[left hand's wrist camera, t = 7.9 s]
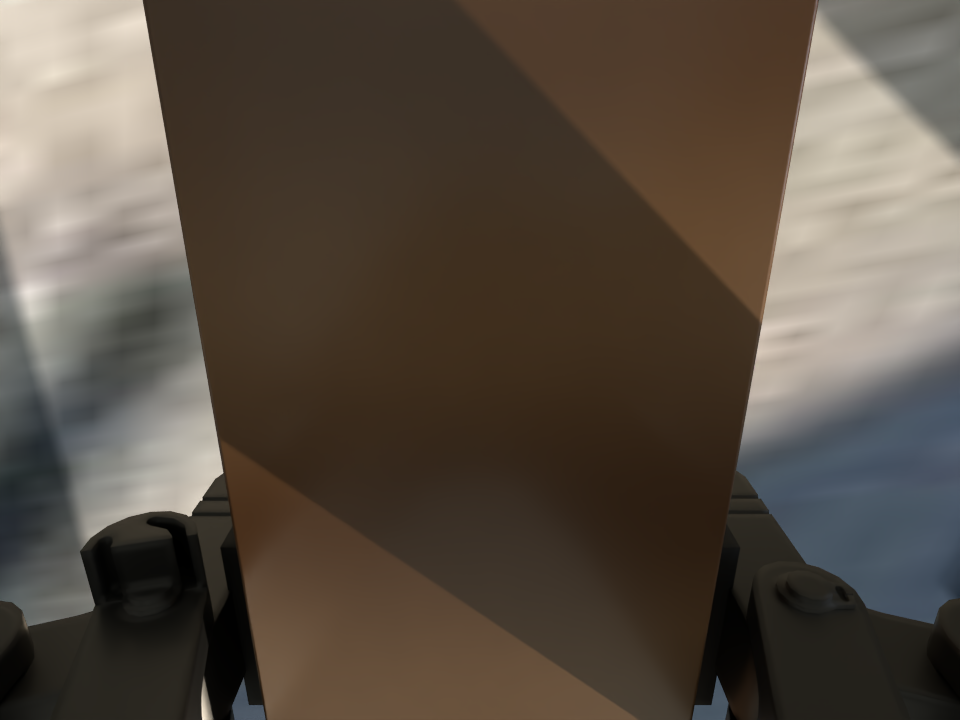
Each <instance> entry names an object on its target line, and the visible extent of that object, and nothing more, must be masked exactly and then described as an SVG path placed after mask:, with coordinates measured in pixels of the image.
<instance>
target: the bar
mask: <svg viewBox="0 0 960 720" xmlns="http://www.w3.org/2000/svg"><path fill="white" fill-rule="evenodd" d="M818 1H819V0H143V4H144V10H145V16H146V22H147V28H148V34H149V39H150V45H151V51H152V57H153V63H154V69H155V75H156V80H157V86H158V92H159V98H160V104H161V110H162V115H163V121H164V127H165V133H166V139H167V145H168V151H169V156H170V162H171V168H172V174H173V180H174V186H175V192H176V197H177V203H178V209H179V215H180V221H181V227H182V232H183V238H184V244H185V250H186V256H187V262H188V268H189V273H190V279H191V285H192V291H193V297H194V303H195V309H196V314H197V320H198V326H199V332H200V338H201V344H202V349H203V355H204V361H205V367H206V373H207V379H208V385H209V390H210V396H211V402H212V408H213V414H214V420H215V426H216V431H217V437H218V443H219V449H220V455H221V461H222V466H223V472H224V478H225V484H226V490H227V496H228V502H229V507H230V513H231V519H232V525H233V531H234V537H235V543H236V548H237V554H238V560H239V566H240V572H241V578H242V583H243V589H244V595H245V601H246V607H247V613H248V619H249V624H250V630H251V636H252V642H253V648H254V654H255V660H256V665H257V671H258V677H259V683H260V689H261V695H262V700H263V706H264V712H265V718H266V720H692V716H693V711H694V705H695V699H696V694H697V688H698V682H699V677H700V671H701V665H702V660H703V654H704V648H705V643H706V637H707V631H708V625H709V620H710V614H711V608H712V603H713V597H714V591H715V586H716V580H717V574H718V569H719V563H720V557H721V552H722V546H723V540H724V535H725V529H726V523H727V518H728V512H729V506H730V501H731V495H732V489H733V484H734V478H735V472H736V467H737V461H738V455H739V450H740V444H741V438H742V433H743V427H744V421H745V416H746V410H747V404H748V399H749V393H750V387H751V381H752V376H753V370H754V364H755V359H756V353H757V347H758V342H759V336H760V330H761V325H762V319H763V313H764V308H765V302H766V296H767V291H768V285H769V279H770V274H771V268H772V262H773V257H774V251H775V245H776V240H777V234H778V228H779V223H780V217H781V211H782V206H783V200H784V194H785V189H786V183H787V177H788V172H789V166H790V160H791V155H792V149H793V143H794V137H795V132H796V126H797V120H798V115H799V109H800V103H801V98H802V92H803V86H804V81H805V75H806V69H807V64H808V58H809V52H810V47H811V41H812V35H813V30H814V24H815V18H816V13H817V7H818Z"/></svg>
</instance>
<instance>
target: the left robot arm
mask: <svg viewBox="0 0 960 720" xmlns="http://www.w3.org/2000/svg"><path fill="white" fill-rule="evenodd" d="M80 553H81V557H82V560H83V564H84V567H85V571H86V574H87V578H88V581H89V585H90V588H91V592H92V596H93V599H94V603H95V607H94V610H93V611H92V612H88V613H85V614H82V615H78V616H74V617H69V618H65V619H60V620H56V621H51V622H47V623H43V624H38V625H34V626H29V627H27V624H26V621H25V618H24V615H23V612H22V610H21V609H19V608H18V607H17V606H16V605H15V604H13V603H11V602H5V601H0V720H234V714H233V709H232V704H233V702H234V699H235V697H236V695H237V692H238V690H239V687H240V685H241V682H242V680H243V677H244V680H245V686H246V691H247V697H248V702H249V705H263V700H262V695H261V689H260V683H259V677H258V671H257V665H256V660H255V654H254V648H253V642H252V636H251V630H250V624H249V619H248V613H247V607H246V601H245V595H244V589H243V583H242V578H241V572H240V566H239V560H238V554H237V548H236V543H235V537H234V531H233V525H232V519H231V513H230V507H229V502H228V496H227V490H226V484H225V478H224V473H223V474H222V475H220V476H219V477H218V478H216V479H215V480H214V482H213V483H212V485H211V486H210V487H209V489H208V490H207V492H206V493H205V495H204V496H203V500H202V501H200V502H199V503H198V505H197V506H196V508H195V509H194V510H193V512H192V516H189V517H188V516H187V515H184V514H180V513H176V512H172V511H164V512H148V513H144V514H140V515H136V516H131V517H128V518H126V519H123V520H121V521H119V522H116V523H114V524H112V525H109V526H107V527H106V528H104V529H103V530H102V531H100V532H99V533H97V534H96V535H94V536H93V537H92V538H90V540H89V541H88V542H87V543H86V545H85V546H84V547H83V548H82V550H81V551H80ZM717 676H718V678H719V681H720V683H721V685H722V688H723V690H724V693H725V695H726V698H727V700H728V703H729V704H728V709H727V714H726V719H725V720H960V598H959V599H952V600H949V601H947V602H946V603H945V604H944V605H942V606H941V607H940V608H939V611H938V613H937V616H936V619H935V622H934V624H930V623H926V622H921V621H917V620H912V619H908V618H903V617H899V616H894V615H890V614H885V613H881V612H878V611H874V610H871V609H868V608H866V606H865V604H864V603H863V601H862V600H861V598H860V597H859V595H858V594H857V592H856V591H855V590H854V589H853V588H852V587H851V586H849V585H848V584H847V583H845V582H844V581H843V580H842V579H840V578H839V577H837V576H835V575H833V574H831V573H829V572H827V571H825V570H823V569H821V568H819V567H815V566H811V565H808V564H806V563H805V561H804V560H803V558H802V557H801V556H800V554H799V553H798V551H797V550H796V548H795V547H794V546H793V544H792V543H791V541H790V540H789V538H788V537H787V536H786V534H785V533H784V531H783V530H782V529H781V527H780V526H779V524H778V523H777V521H776V520H775V519H774V517H773V516H772V514H769V510H768V509H767V507H766V506H765V504H764V503H763V501H762V500H761V499H758V494H757V493H756V491H755V490H754V489H753V487H752V486H751V484H750V483H749V481H748V480H747V479H746V477H745V476H743V475H742V474H740V473H739V472H737V471H736V472H735V478H734V484H733V489H732V495H731V501H730V506H729V512H728V518H727V523H726V529H725V535H724V540H723V546H722V552H721V557H720V563H719V569H718V574H717V580H716V586H715V591H714V597H713V603H712V608H711V614H710V620H709V625H708V631H707V637H706V643H705V648H704V654H703V660H702V665H701V671H700V677H699V682H698V688H697V694H696V699H695V705H711V704H712V699H713V693H714V688H715V683H716V677H717Z"/></svg>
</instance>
